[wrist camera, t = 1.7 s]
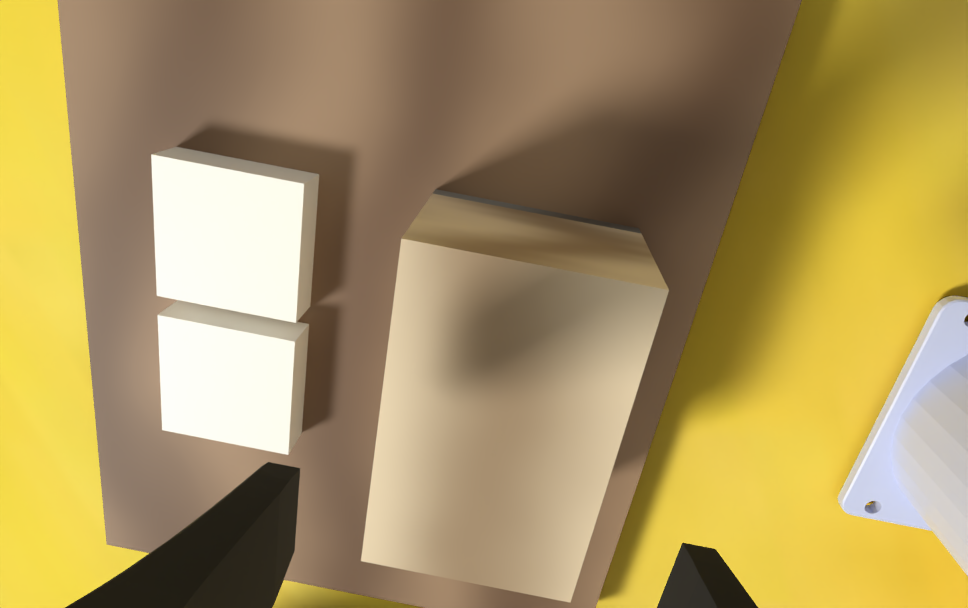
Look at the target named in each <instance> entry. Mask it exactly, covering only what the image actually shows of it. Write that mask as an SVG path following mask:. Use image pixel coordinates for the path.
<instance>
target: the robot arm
mask: <svg viewBox="0 0 968 608" xmlns="http://www.w3.org/2000/svg"><path fill="white" fill-rule="evenodd" d="M967 315H968V298H967V297H962V296H948V297H945V298H943V299H941V300H940V301H938V302H937V303H936V305H935V306H934V307H933V309H932V311H931V313H930V315H929V317H928V319H927V321H926V323H925V325H924V327H923V329H922V331H921V333H920V335H919V337H918V339H917V341H916V343H915V345H914V347H913V349H912V351H911V353H910V354H909V356H908V358H907V360H906V362H905V364H904V366H903V368H902V370H901V372H900V374H899V376H898V378H897V380H896V382H895V384H894V386H893V388H892V390H891V392H890V394H889V396H888V398H887V400H886V402H885V404H884V406H883V408H882V410H881V412H880V414H879V416H878V418H877V420H876V422H875V424H874V426H873V428H872V430H871V432H870V434H869V436H868V438H867V440H866V442H865V444H864V446H863V448H862V450H861V451H860V453H859V455H858V457H857V459H856V461H855V463H854V465H853V467H852V469H851V471H850V473H849V475H848V477H847V479H846V481H845V483H844V485H843V487H842V489H841V491H840V493H839V496H838V502H839V504H840V506H841V508H842V509H843V510H844V511H845V512H846V513H848V514H850V515H854V516H859V517H864V518H870V519H875V520H880V521H885V522H890V523H895V524H900V525H905V526H910V527H915V528H921V529H926V530H931V531H933V532H934V533H935V535H936V536H937V537H938V539H939V540H940V541H941V542H942V544H943V545H944V546H945V548H946V549H947V550H948V551H949V553H950V554H951V555H952V557H953V558H954V559H955V560H956V562H957V563H958V564H959V565H960V567H961V568H962V569H963V571H964V572H965V573H966V574H967V576H968V321H967V322H964V320H965V317H966V316H967ZM299 480H300V468H297V467H292V466H286V465H281V464H276V463H271V462H267V463H266V464H264V465H263V466H261V467H260V468H259V469H258V470H256V471H255V472H254V473H253V474H252V475H250V476H249V477H248V478H247V479H246V480H244V481H243V482H242V483H241V484H240V485H238V486H237V487H236V488H235V489H234V490H232V491H231V492H230V493H229V494H227V495H226V496H225V497H224V498H223V499H221V500H220V501H219V502H218V503H216V504H215V505H214V506H213V507H211V508H210V509H209V510H208V511H206V512H205V513H204V514H202V515H201V516H200V517H198V518H197V519H196V520H194V521H193V522H192V523H191V524H189V525H188V526H187V527H185V528H184V529H183V530H181V531H180V532H179V533H178V534H176V535H175V536H173V537H172V538H171V539H169V540H168V541H167V542H165V543H164V544H162V545H161V546H159V547H158V548H157V549H155V550H154V551H152V552H151V553H149V554H148V555H147V556H145V557H144V558H142V559H141V560H139V561H138V562H136V563H135V564H134V565H132V566H131V567H129V568H128V569H126V570H125V571H123V572H122V573H120V574H119V575H117V576H116V577H114V578H113V579H111V580H110V581H108V582H106V583H105V584H103V585H102V586H100V587H98V588H97V589H95V590H94V591H92V592H90V593H89V594H87V595H85V596H84V597H82V598H80V599H79V600H77V601H75V602H74V603H72V604H70V605H69V606H67V607H65V608H272V607H273V605H274V603H275V600H276V598H277V595H278V593H279V590H280V588H281V585H282V583H283V580H284V577H285V575H286V572H287V570H288V567H289V564H290V562H291V559H292V556H293V554H294V551H295V538H296V524H297V509H298V494H299ZM871 501H875V502H874V503H873V504H871V505H866V504H867V503H869V502H871ZM657 608H758V607H757V606H756V604H755V603H754V601H753V600H752V599H751V597H750V596H749V595H748V593H747V592H746V590H745V589H744V588H743V586H742V585H741V584H740V582H739V581H738V579H737V578H736V577H735V575H734V574H733V572H732V571H731V570H730V568H729V567H728V566H727V564H726V563H725V562H724V560H723V559H722V557H721V556H720V555H719V553H718V552H717V551H716V550H715V549H712V548H707V547H702V546H696V545H691V544H686V543H682V545H681V548H680V551H679V553H678V556H677V558H676V561H675V563H674V566H673V568H672V571H671V573H670V576H669V578H668V581H667V584H666V586H665V589H664V591H663V594H662V596H661V599H660V601H659V604H658V606H657Z"/></svg>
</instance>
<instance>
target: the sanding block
mask: <svg viewBox="0 0 968 608" xmlns="http://www.w3.org/2000/svg"><path fill="white" fill-rule="evenodd" d="M668 292H669V289H668V287H667V285H666V283H665V281H664V279H663V277H662V275H661V273H660V271H659V268H658V266H657V264H656V262H655V260H654V258H653V256H652V254H651V252H650V250H649V248H648V246H647V244H646V242H645V240H644V238H643V236H642V234H641V232H640V230H639V228H635V227H630V226H624V225H619V224H614V223H609V222H604V221H598V220H593V219H588V218H583V217H578V216H572V215H567V214H562V213H557V212H552V211H546V210H541V209H536V208H531V207H525V206H520V205H515V204H510V203H505V202H499V201H494V200H489V199H484V198H479V197H473V196H468V195H463V194H458V193H453V192H447V191H442V190H437V189H435V190H434V192H433V193H432V195H431V196H430V198H429V199H428V201H427V202H426V204H425V205H424V206H423V208H422V209H421V211H420V212H419V214H418V215H417V217H416V218H415V219H414V221H413V222H412V224H411V225H410V227H409V228H408V230H407V231H406V233H405V234H404V235H403V237H402V238H401V246H400V253H399V261H398V269H397V277H396V285H395V293H394V301H393V309H392V317H391V325H390V333H389V341H388V349H387V357H386V365H385V373H384V381H383V389H382V397H381V405H380V413H379V421H378V429H377V437H376V445H375V453H374V461H373V469H372V477H371V485H370V493H369V501H368V508H367V516H366V524H365V532H364V540H363V548H362V556H361V561H363V562H368V563H373V564H378V565H383V566H388V567H393V568H398V569H403V570H408V571H413V572H419V573H424V574H429V575H434V576H439V577H444V578H449V579H454V580H459V581H464V582H469V583H474V584H479V585H484V586H489V587H494V588H499V589H504V590H509V591H514V592H519V593H524V594H529V595H534V596H539V597H544V598H549V599H555V600H560V601H565V602H571V599H572V596H573V593H574V590H575V587H576V583H577V580H578V577H579V574H580V571H581V568H582V564H583V561H584V558H585V555H586V552H587V549H588V545H589V542H590V539H591V536H592V533H593V530H594V526H595V523H596V520H597V517H598V514H599V511H600V507H601V504H602V501H603V498H604V495H605V492H606V488H607V485H608V482H609V479H610V476H611V473H612V469H613V466H614V463H615V460H616V457H617V454H618V450H619V447H620V444H621V441H622V438H623V435H624V431H625V428H626V425H627V422H628V419H629V416H630V412H631V409H632V406H633V403H634V400H635V397H636V393H637V390H638V387H639V384H640V381H641V378H642V374H643V371H644V368H645V365H646V362H647V359H648V355H649V352H650V349H651V346H652V343H653V340H654V336H655V333H656V330H657V327H658V324H659V321H660V317H661V314H662V311H663V308H664V305H665V302H666V298H667V295H668Z"/></svg>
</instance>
